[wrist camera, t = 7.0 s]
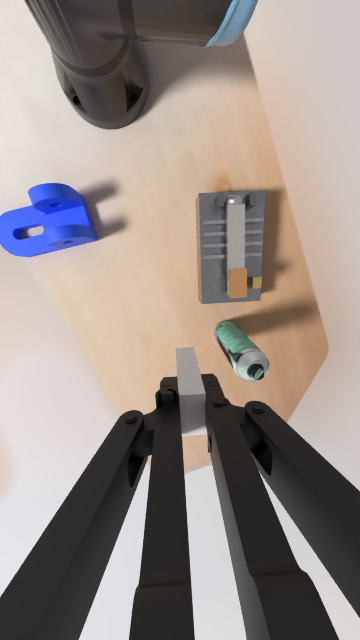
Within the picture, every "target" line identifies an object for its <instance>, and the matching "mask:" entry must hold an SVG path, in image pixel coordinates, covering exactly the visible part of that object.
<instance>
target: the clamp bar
mask: <svg viewBox="0 0 360 640" xmlns="http://www.w3.org/2000/svg"><path fill="white" fill-rule="evenodd" d="M226 241H227V295H229V298H245V297H247V269H245V195H227V198H226Z"/></svg>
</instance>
